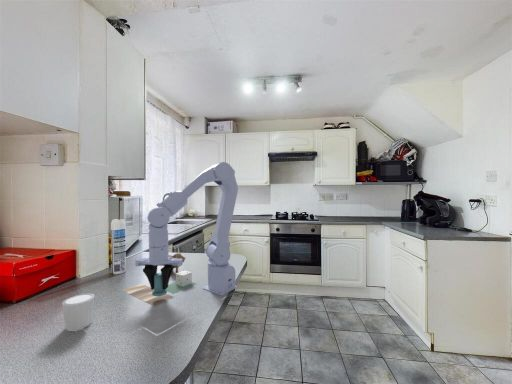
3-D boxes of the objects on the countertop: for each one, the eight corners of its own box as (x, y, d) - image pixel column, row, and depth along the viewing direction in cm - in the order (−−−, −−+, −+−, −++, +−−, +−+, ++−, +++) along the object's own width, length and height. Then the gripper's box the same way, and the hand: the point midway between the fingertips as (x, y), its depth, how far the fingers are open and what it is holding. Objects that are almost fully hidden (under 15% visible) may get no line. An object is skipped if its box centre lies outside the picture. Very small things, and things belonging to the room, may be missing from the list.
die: (192, 283, 88) (191, 272, 88) (182, 286, 85) (182, 275, 85) (185, 280, 91) (184, 270, 91) (175, 284, 88) (175, 273, 87)
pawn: (169, 290, 77) (169, 272, 77) (161, 296, 73) (161, 277, 73) (157, 289, 78) (157, 271, 78) (149, 295, 74) (148, 276, 74)
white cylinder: (90, 315, 67) (89, 290, 67) (99, 323, 63) (98, 297, 63) (59, 326, 62) (58, 299, 62) (66, 336, 58) (65, 307, 57)
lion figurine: (187, 274, 99) (186, 252, 99) (175, 278, 95) (175, 255, 95) (168, 267, 108) (168, 247, 108) (157, 270, 104) (157, 249, 104)
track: (174, 298, 77) (174, 297, 77) (154, 306, 71) (154, 305, 71) (141, 284, 89) (141, 283, 89) (121, 291, 83) (121, 290, 83)
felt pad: (197, 284, 88) (197, 283, 88) (173, 294, 80) (173, 293, 80) (183, 279, 93) (183, 279, 93) (159, 288, 84) (159, 288, 84)
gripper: (185, 242, 79) (186, 283, 79) (143, 242, 80) (144, 283, 80) (177, 248, 72) (178, 292, 72) (131, 248, 73) (132, 292, 73)
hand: (159, 288), depth 76 cm, fingers closed on pawn, 3 cm apart
